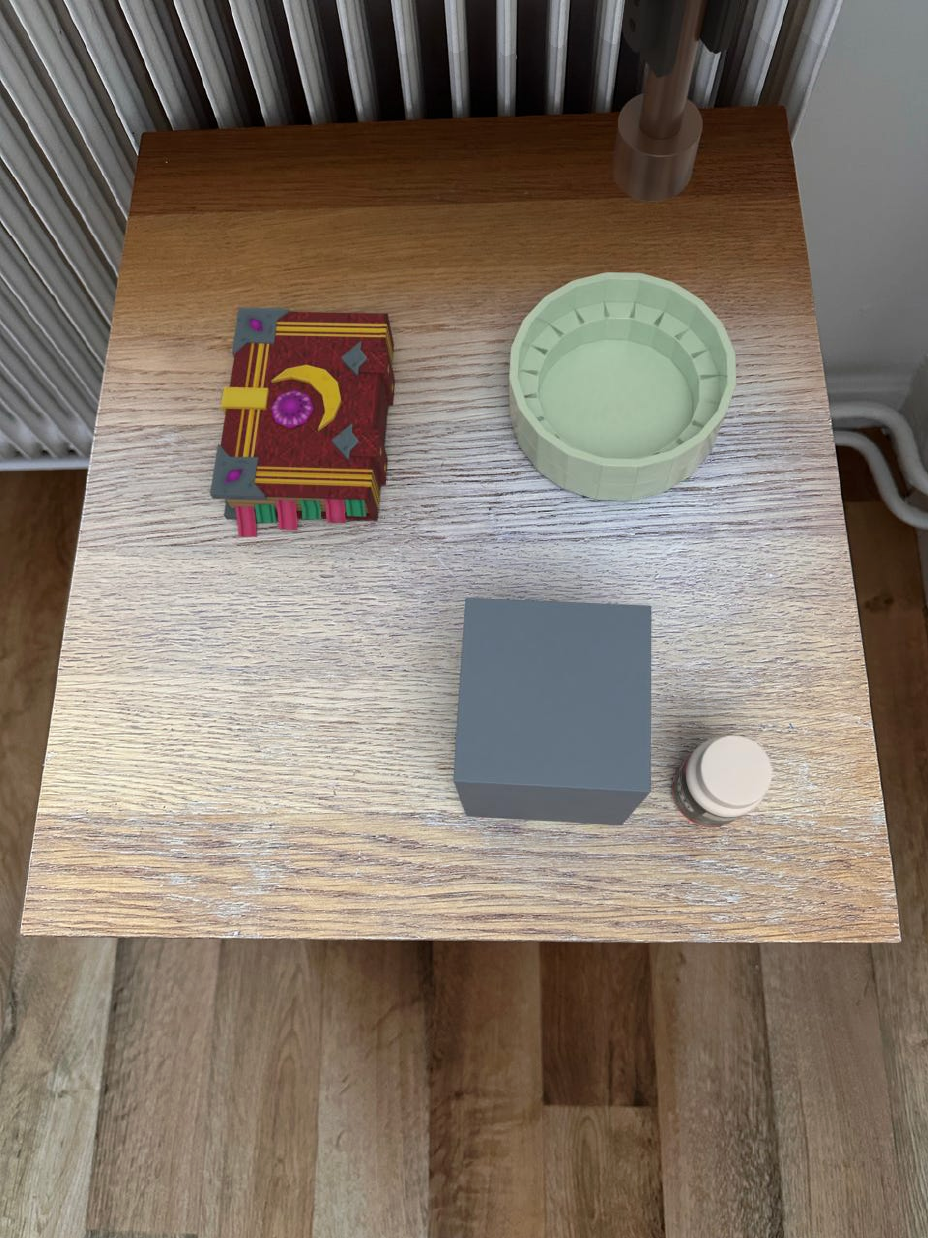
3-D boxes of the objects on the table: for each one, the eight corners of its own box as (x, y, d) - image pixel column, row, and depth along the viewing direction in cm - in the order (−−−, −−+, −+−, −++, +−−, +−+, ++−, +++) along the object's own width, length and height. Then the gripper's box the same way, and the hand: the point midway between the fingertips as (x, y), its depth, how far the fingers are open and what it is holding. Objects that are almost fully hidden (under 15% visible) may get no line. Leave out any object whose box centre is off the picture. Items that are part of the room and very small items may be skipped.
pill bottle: (669, 754, 64) (691, 726, 56) (743, 755, 63) (775, 728, 56) (672, 828, 62) (694, 810, 54) (747, 830, 62) (781, 812, 54)
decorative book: (398, 346, 75) (390, 305, 70) (380, 541, 70) (370, 511, 65) (252, 343, 75) (234, 302, 71) (224, 535, 70) (203, 506, 66)
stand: (624, 674, 66) (651, 604, 52) (622, 825, 62) (650, 792, 49) (475, 667, 66) (465, 597, 53) (466, 816, 63) (453, 781, 50)
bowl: (716, 325, 74) (733, 274, 68) (720, 509, 69) (738, 470, 63) (515, 321, 75) (515, 269, 69) (505, 501, 70) (504, 462, 64)
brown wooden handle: (691, 138, 50) (750, -125, 38) (692, 202, 49) (753, -49, 36) (612, 137, 50) (645, -125, 38) (611, 201, 49) (645, -49, 37)
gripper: (583, -409, 23) (551, 173, 41) (1142, -609, 25) (880, 34, 42) (448, -563, 25) (473, 51, 43) (968, -737, 27) (788, -77, 44)
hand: (676, 39), depth 42 cm, fingers closed on brown wooden handle, 2 cm apart
